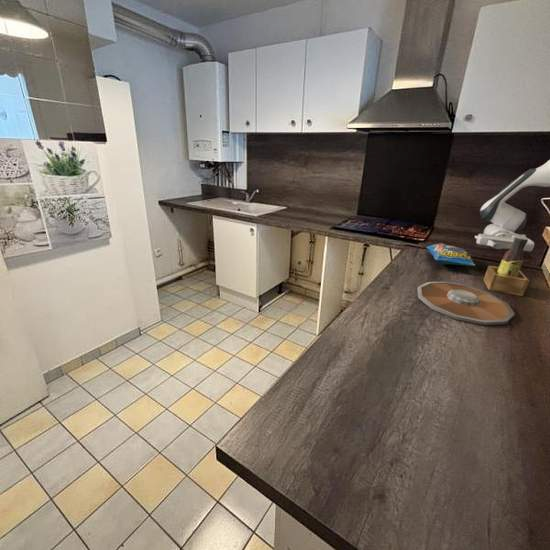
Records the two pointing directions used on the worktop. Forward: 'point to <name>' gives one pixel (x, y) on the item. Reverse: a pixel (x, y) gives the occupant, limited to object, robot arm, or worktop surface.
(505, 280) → the open wooden box
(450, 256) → the packet
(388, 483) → the worktop surface
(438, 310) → the shield
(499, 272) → the sauce bottle
